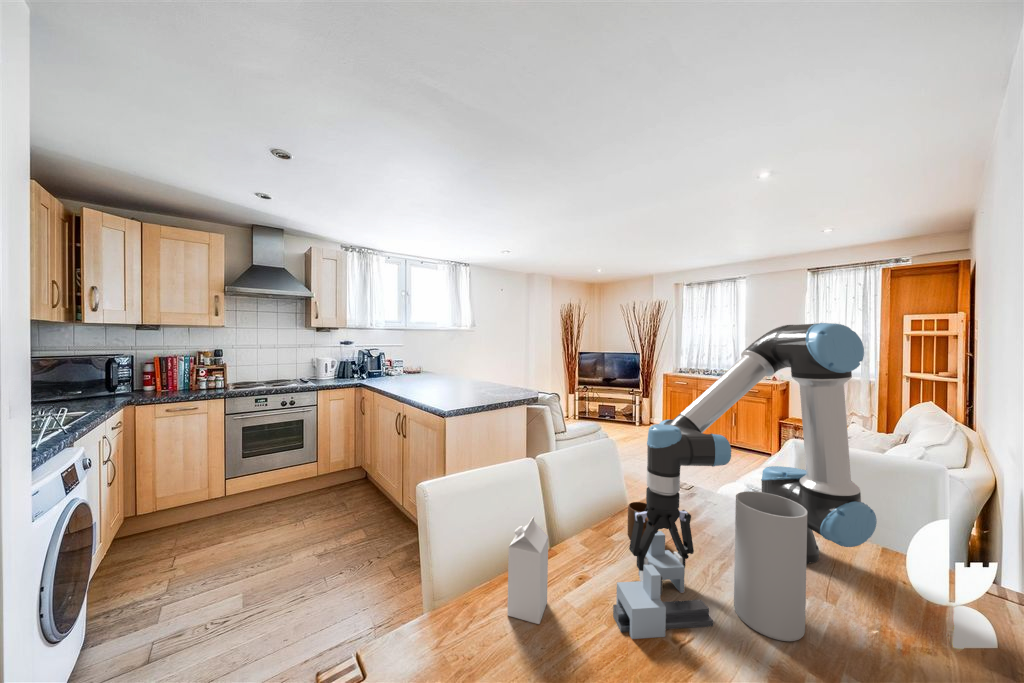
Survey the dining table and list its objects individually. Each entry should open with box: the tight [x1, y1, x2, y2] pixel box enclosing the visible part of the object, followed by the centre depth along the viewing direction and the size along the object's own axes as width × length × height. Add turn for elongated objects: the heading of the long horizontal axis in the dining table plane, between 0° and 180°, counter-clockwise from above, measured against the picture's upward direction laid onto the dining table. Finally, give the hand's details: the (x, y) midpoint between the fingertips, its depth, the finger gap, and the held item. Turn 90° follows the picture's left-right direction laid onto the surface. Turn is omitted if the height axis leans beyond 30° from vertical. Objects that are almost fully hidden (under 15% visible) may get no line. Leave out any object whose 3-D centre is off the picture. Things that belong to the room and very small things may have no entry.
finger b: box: [638, 530, 686, 594], centre depth 90 cm, size 8×8×11 cm
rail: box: [612, 599, 714, 633], centre depth 77 cm, size 20×4×3 cm, turn 96°
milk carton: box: [507, 515, 549, 625], centre depth 80 cm, size 7×7×19 cm
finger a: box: [615, 565, 666, 640], centre depth 77 cm, size 8×8×11 cm
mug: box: [627, 501, 653, 540], centre depth 108 cm, size 12×8×9 cm, turn 2°
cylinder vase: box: [733, 490, 807, 642], centre depth 78 cm, size 12×12×25 cm
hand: (660, 581), depth 90 cm, fingers closed on finger b, 8 cm apart
